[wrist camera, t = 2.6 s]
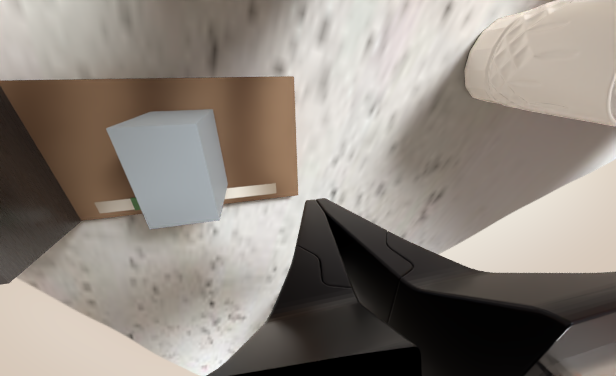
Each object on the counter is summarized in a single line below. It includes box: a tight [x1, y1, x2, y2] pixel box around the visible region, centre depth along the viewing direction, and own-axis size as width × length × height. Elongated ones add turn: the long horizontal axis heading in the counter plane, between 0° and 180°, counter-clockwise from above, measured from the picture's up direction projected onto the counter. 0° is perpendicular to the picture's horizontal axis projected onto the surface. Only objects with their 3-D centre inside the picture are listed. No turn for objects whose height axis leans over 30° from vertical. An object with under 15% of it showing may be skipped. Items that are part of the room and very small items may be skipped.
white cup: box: [464, 0, 616, 127], centre depth 16 cm, size 8×8×10 cm
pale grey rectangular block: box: [106, 109, 228, 229], centre depth 15 cm, size 4×8×5 cm, turn 1°
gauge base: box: [0, 77, 298, 221], centre depth 17 cm, size 20×10×1 cm, turn 91°
